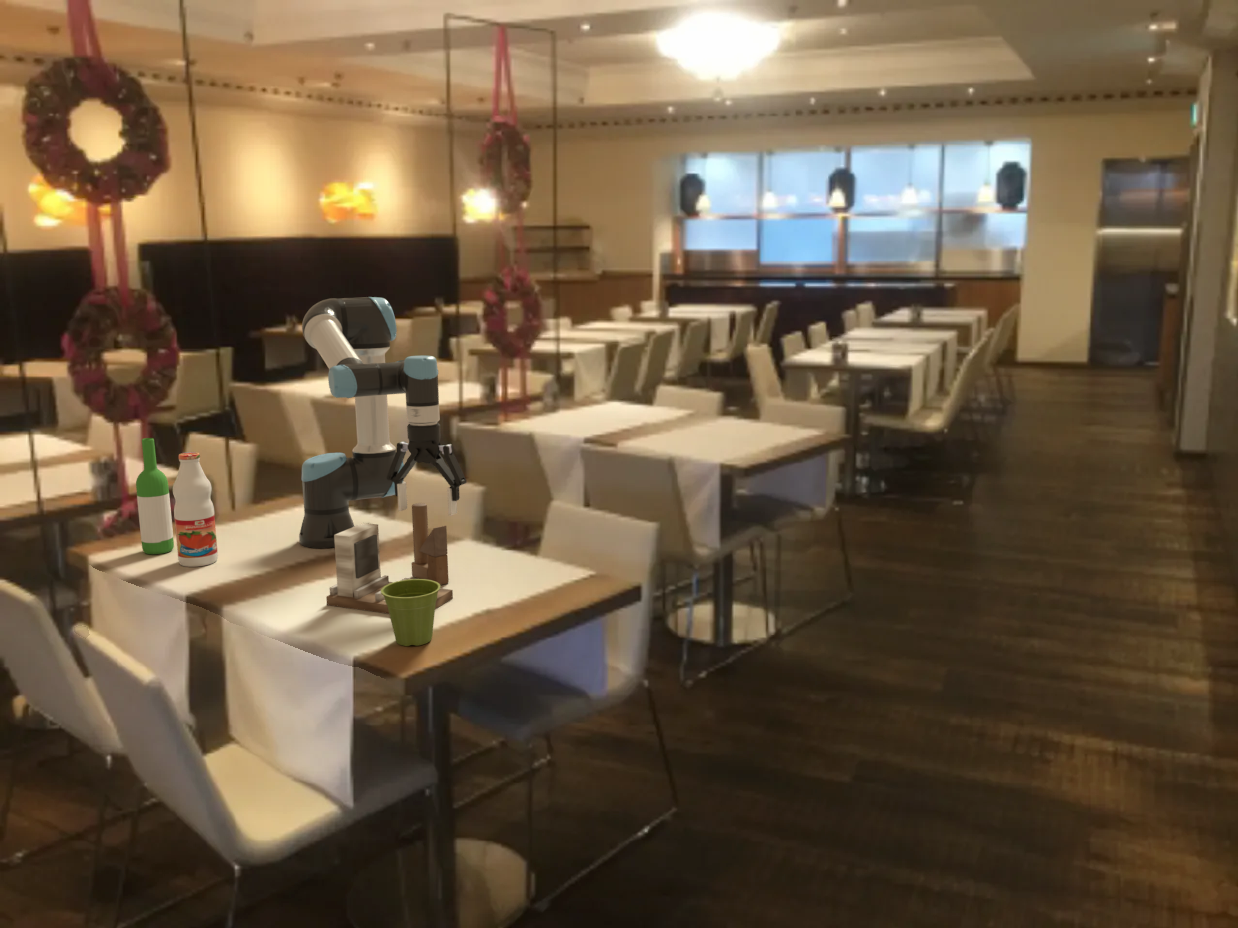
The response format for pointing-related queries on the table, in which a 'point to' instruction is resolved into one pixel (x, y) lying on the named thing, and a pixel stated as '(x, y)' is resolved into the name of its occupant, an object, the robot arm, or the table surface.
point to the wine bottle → (154, 504)
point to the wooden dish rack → (363, 572)
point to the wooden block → (428, 548)
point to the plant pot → (412, 609)
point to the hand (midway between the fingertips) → (427, 512)
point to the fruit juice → (194, 514)
